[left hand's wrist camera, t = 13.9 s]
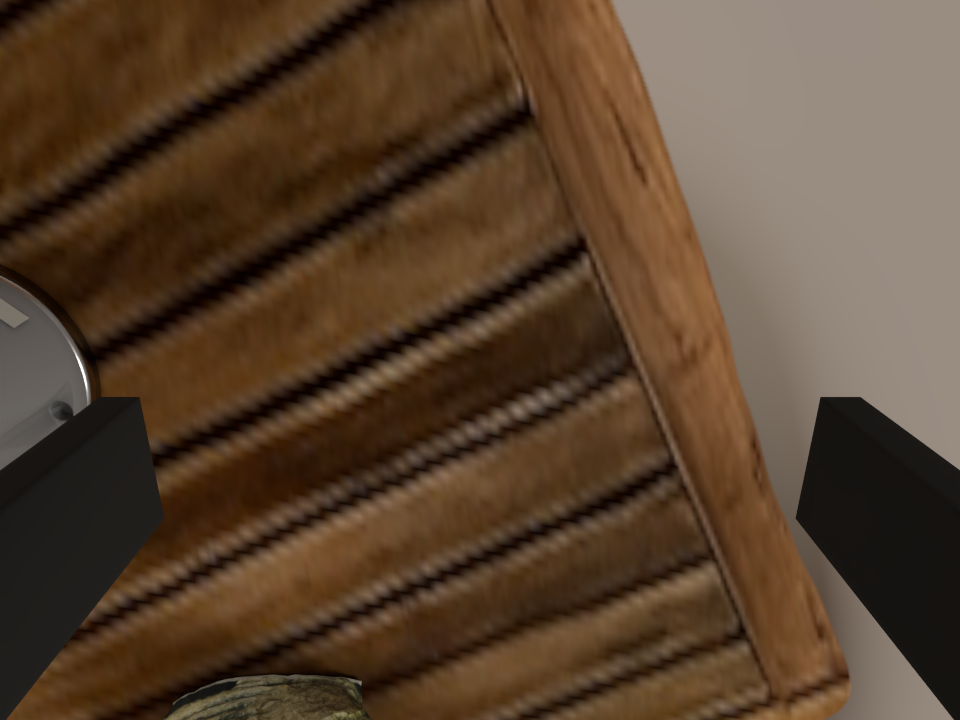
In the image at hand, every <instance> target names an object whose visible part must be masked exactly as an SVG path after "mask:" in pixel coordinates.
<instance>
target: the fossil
mask: <svg viewBox="0 0 960 720" xmlns="http://www.w3.org/2000/svg"><path fill="white" fill-rule="evenodd" d="M361 683H362V681H358V680H354V679H350V678H345V677H328V676H318V675H296V674H295V675H291V676H282V675H261V676H248V677H238V678H231V679H225V680H221V681H218V682H215V683H213V684H210V685H207V686H205V687H202V688H200V689H198V690H197V691H195V692H192V693H188V694H186V695H184V696H182V697H181V698H180V699H178V700H177V701H175V702H174V703H173V706H172V708H171V710H170V711H169V713H168V714H167V716H166V717H164V718H163V719H162V720H372V719H371V718H370V716H369V715H368V714H367V712H366V711H365V709H364V708H363V707H362V701H363V700H362V695H361V691H360V689H361Z"/></svg>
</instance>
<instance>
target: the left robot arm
mask: <svg viewBox="0 0 960 720" xmlns="http://www.w3.org/2000/svg"><path fill="white" fill-rule="evenodd" d="M163 519H164V515H163V510H162V505H161V500H160V495H159V490H158V485H157V481H156V476H155V471H154V466H153V461H152V456H151V451H150V446H149V442H148V437H147V432H146V427H145V422H144V417H143V412H142V408H141V403H140V398H139V397H100V380H99V374H98V370H97V366H96V363H95V360H94V357H93V354H92V352H91V350H90V347H89V345H88V343H87V341H86V340H85V338H84V336H83V334H82V333H81V331H80V330H79V328H78V327H77V325H76V324H75V322H74V321H73V320H72V319H71V317H70V316H69V315H68V314H67V313H66V311H65V310H64V309H63V308H62V307H61V306H60V305H59V304H58V303H57V302H56V301H55V300H54V299H53V298H51V297H50V296H49V295H48V294H47V293H45V292H44V291H43V290H42V289H40V288H39V287H38V286H36V285H35V284H33V283H32V282H30V281H29V280H27V279H25V278H24V277H22V276H20V275H18V274H17V273H15V272H13V271H10V270H8V269H6V268H4V267H1V266H0V720H6V719H7V718H8V717H9V715H10V714H11V713H12V711H13V710H14V709H15V708H16V706H17V705H18V704H19V703H20V701H21V700H22V699H23V697H24V696H25V695H26V694H27V692H28V691H29V690H30V689H31V687H32V686H33V685H34V683H35V682H36V681H37V680H38V678H39V677H40V676H41V675H42V673H43V672H44V671H45V669H46V668H47V667H48V666H49V664H50V663H51V662H52V661H53V659H54V658H55V657H56V655H57V654H58V653H59V652H60V650H61V649H62V648H63V647H64V645H65V644H66V643H67V642H68V640H69V639H70V638H71V636H72V635H73V634H74V633H75V631H76V630H77V629H78V628H79V626H80V625H81V624H82V622H83V621H84V620H85V619H86V617H87V616H88V615H89V614H90V612H91V611H92V610H93V608H94V607H95V606H96V605H97V603H98V602H99V601H100V600H101V598H102V597H103V596H104V594H105V593H106V592H107V591H108V589H109V588H110V587H111V586H112V584H113V583H114V582H115V580H116V579H117V578H118V577H119V575H120V574H121V573H122V572H123V570H124V569H125V568H126V567H127V565H128V564H129V563H130V561H131V560H132V559H133V558H134V556H135V555H136V554H137V553H138V551H139V550H140V549H141V547H142V546H143V545H144V544H145V542H146V541H147V540H148V539H149V537H150V536H151V535H152V533H153V532H154V531H155V530H156V528H157V527H158V526H159V525H160V523H161V522H162V521H163ZM796 519H797V521H798V522H799V523H800V525H801V526H802V527H803V528H804V530H805V531H806V532H807V533H808V535H809V536H810V537H811V539H812V540H813V541H814V542H815V544H816V545H817V546H818V547H819V549H820V550H821V551H822V552H823V554H824V555H825V556H826V558H827V559H828V560H829V561H830V563H831V564H832V565H833V567H834V568H835V569H836V570H837V572H838V573H839V574H840V575H841V577H842V578H843V579H844V580H845V582H846V583H847V584H848V586H849V587H850V588H851V589H852V591H853V592H854V593H855V594H856V596H857V597H858V598H859V600H860V601H861V602H862V603H863V605H864V606H865V607H866V608H867V610H868V611H869V612H870V614H871V615H872V616H873V617H874V619H875V620H876V621H877V622H878V624H879V625H880V626H881V628H882V629H883V630H884V631H885V633H886V634H887V635H888V636H889V638H890V639H891V640H892V642H893V643H894V644H895V645H896V647H897V648H898V649H899V650H900V652H901V653H902V654H903V655H904V657H905V658H906V659H907V661H908V662H909V663H910V664H911V666H912V667H913V668H914V669H915V671H916V672H917V673H918V675H919V676H920V677H921V678H922V680H923V681H924V682H925V683H926V685H927V686H928V687H929V688H930V690H931V691H932V692H933V694H934V695H935V696H936V697H937V699H938V700H939V701H940V703H941V704H942V705H943V706H944V708H945V709H946V710H947V711H948V713H949V714H950V715H951V717H952V718H953V719H954V720H960V470H959V469H957V468H956V467H955V466H953V465H952V464H951V463H949V462H948V461H946V460H945V459H944V458H942V457H941V456H940V455H938V454H937V453H936V452H934V451H933V450H932V449H930V448H929V447H927V446H926V445H925V444H923V443H922V442H921V441H919V440H918V439H917V438H915V437H914V436H913V435H911V434H910V433H908V432H907V431H906V430H904V429H903V428H902V427H900V426H899V425H898V424H896V423H895V422H893V421H892V420H891V419H889V418H888V417H887V416H885V415H884V414H883V413H881V412H880V411H879V410H877V409H876V408H874V407H873V406H872V405H870V404H869V403H868V402H866V401H865V400H864V399H862V398H861V397H821V398H820V403H819V408H818V412H817V417H816V422H815V427H814V432H813V437H812V442H811V446H810V451H809V456H808V461H807V466H806V471H805V476H804V481H803V486H802V490H801V495H800V500H799V505H798V510H797V515H796Z"/></svg>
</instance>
